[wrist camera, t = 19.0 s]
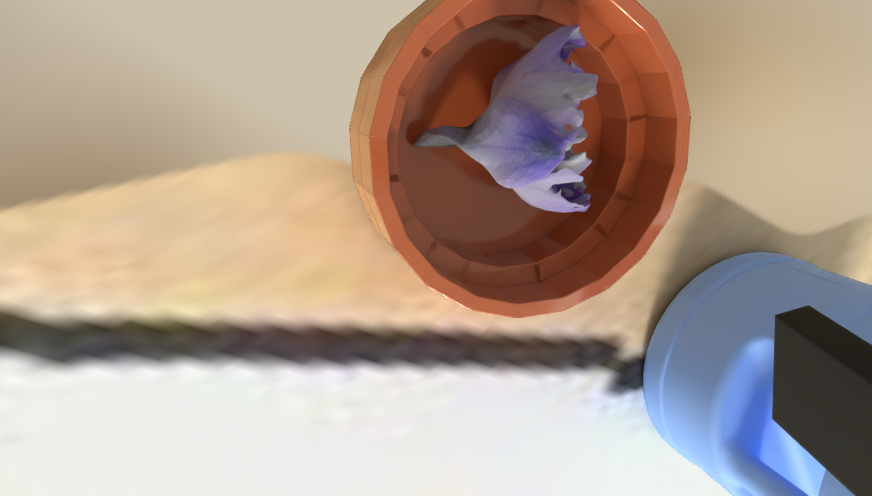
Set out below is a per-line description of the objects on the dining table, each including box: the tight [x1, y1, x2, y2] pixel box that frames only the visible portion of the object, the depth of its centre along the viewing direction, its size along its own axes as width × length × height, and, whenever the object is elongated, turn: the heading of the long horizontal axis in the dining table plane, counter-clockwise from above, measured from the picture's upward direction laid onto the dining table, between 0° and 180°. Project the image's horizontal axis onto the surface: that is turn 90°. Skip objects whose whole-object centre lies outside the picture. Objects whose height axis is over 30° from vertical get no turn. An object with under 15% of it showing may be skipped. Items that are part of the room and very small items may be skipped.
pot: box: [349, 0, 691, 318], centre depth 33 cm, size 17×17×6 cm
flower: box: [413, 25, 598, 213], centre depth 32 cm, size 9×9×10 cm
